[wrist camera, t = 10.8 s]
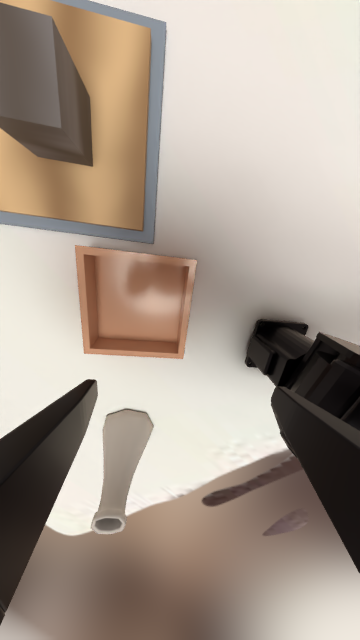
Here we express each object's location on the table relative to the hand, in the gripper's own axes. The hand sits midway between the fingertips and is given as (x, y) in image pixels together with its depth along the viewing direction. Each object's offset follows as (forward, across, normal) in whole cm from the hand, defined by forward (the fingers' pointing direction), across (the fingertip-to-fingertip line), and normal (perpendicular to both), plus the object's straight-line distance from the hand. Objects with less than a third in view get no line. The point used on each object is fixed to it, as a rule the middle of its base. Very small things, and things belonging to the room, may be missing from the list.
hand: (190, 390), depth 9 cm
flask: (+12, +5, +18) cm, 22 cm away
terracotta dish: (+12, +4, -1) cm, 13 cm away
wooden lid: (+12, +10, -14) cm, 21 cm away
